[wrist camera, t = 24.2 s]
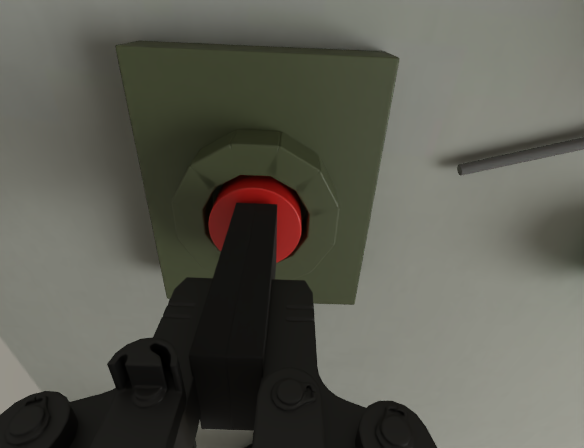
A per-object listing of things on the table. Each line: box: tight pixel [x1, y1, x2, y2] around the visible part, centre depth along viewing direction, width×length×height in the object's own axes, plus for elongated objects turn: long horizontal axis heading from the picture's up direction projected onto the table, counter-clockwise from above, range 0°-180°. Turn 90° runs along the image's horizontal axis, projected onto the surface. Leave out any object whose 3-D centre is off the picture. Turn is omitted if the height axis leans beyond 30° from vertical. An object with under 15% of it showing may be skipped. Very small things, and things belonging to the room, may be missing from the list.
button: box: [208, 175, 302, 263], centre depth 14 cm, size 4×4×2 cm
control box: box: [116, 41, 399, 305], centre depth 15 cm, size 12×10×4 cm
